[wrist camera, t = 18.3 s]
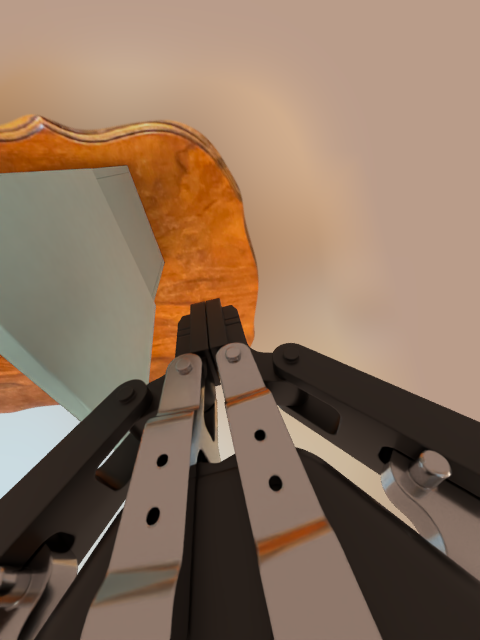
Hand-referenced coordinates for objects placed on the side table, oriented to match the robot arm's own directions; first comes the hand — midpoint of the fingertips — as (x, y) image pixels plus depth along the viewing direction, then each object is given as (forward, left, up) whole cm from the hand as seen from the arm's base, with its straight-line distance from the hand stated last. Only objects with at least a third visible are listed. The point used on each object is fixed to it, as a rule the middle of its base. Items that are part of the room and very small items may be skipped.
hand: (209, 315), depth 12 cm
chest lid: (-8, 0, -6) cm, 10 cm away
